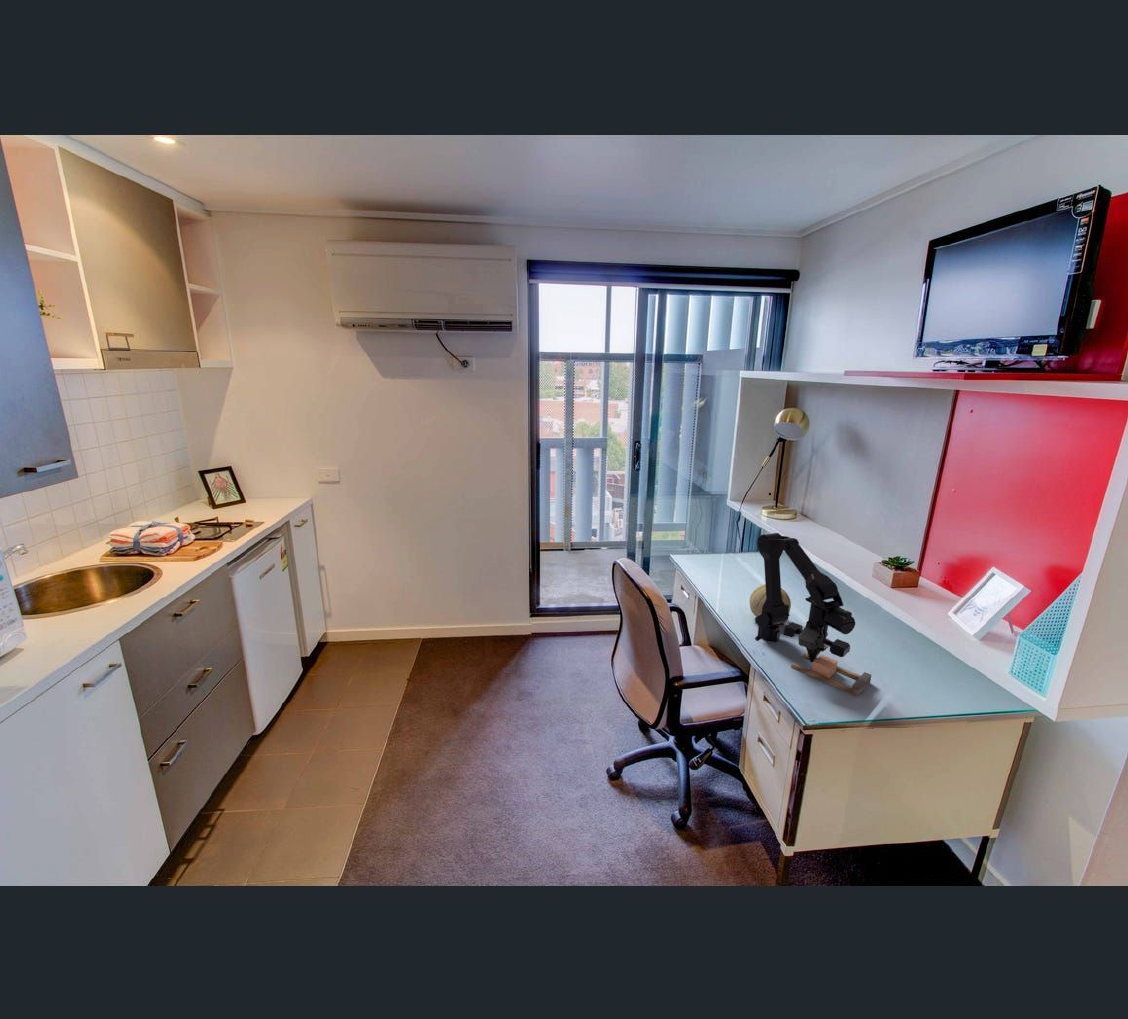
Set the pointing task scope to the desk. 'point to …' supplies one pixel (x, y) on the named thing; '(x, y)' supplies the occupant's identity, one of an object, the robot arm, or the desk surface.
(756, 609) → the cantaloupe
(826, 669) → the block
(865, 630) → the desk surface
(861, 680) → the channel
